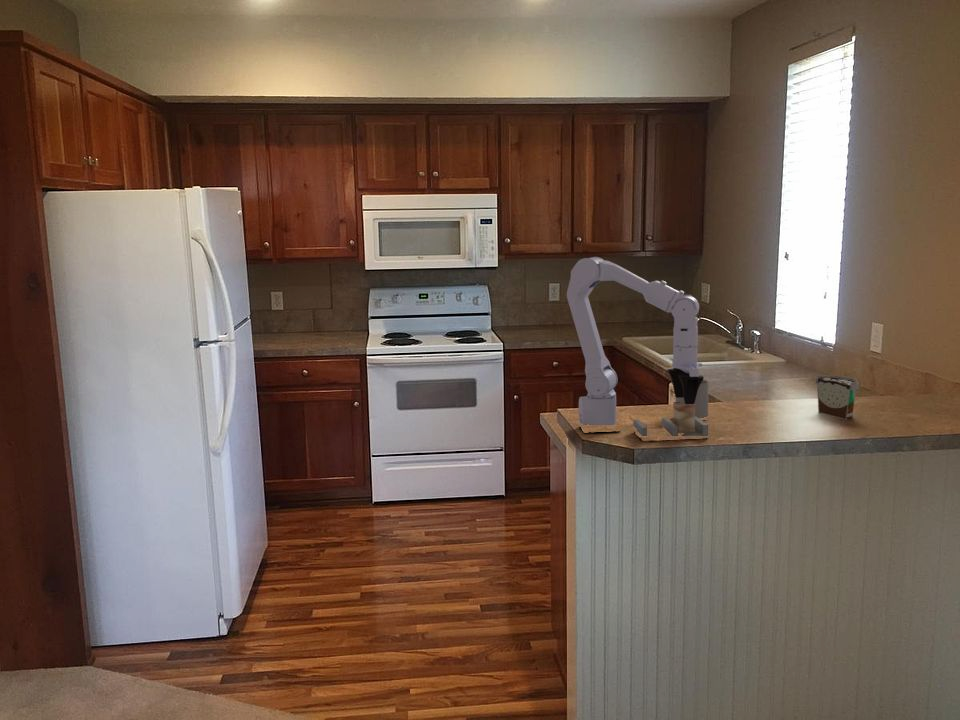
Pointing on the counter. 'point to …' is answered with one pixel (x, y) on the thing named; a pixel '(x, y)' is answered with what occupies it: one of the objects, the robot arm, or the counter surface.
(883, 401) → the counter surface
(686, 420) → the peg
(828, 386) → the food container
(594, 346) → the robot arm
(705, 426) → the gray i-beam stand
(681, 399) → the cup
